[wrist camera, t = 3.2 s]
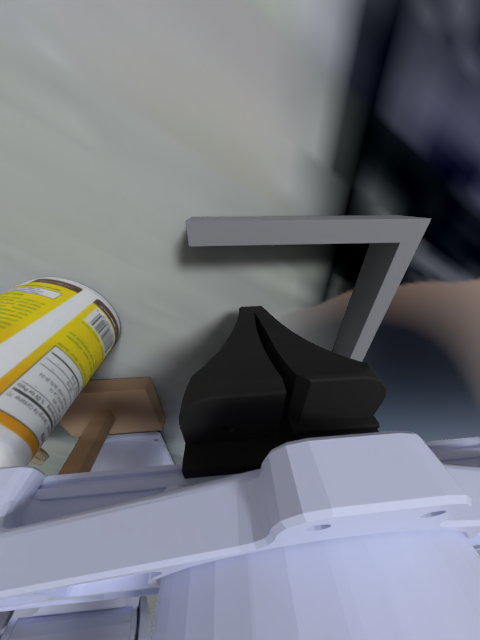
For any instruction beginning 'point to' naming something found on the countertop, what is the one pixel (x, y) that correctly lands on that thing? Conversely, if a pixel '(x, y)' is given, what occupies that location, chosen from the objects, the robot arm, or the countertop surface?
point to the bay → (380, 231)
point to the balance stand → (109, 417)
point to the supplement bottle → (47, 358)
